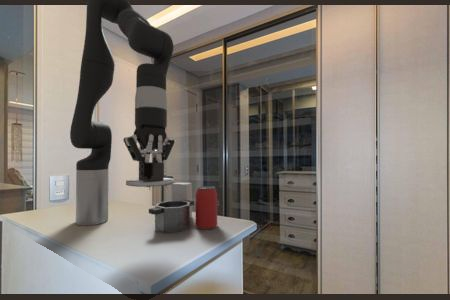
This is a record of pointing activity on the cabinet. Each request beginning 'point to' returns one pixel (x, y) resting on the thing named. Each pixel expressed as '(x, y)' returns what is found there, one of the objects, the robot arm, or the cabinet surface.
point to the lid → (151, 177)
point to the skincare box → (182, 193)
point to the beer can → (206, 207)
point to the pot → (172, 216)
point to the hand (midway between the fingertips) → (150, 178)
